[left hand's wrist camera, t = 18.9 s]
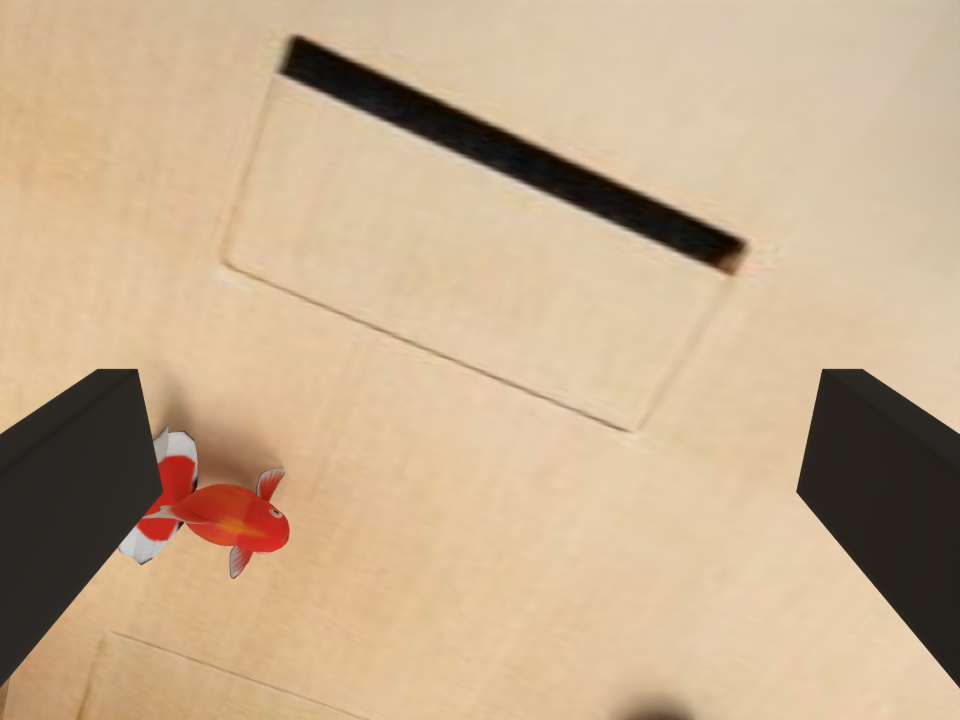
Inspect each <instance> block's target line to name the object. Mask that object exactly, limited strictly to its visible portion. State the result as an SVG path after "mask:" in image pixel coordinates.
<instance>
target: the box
mask: <svg viewBox="0 0 960 720" xmlns="http://www.w3.org/2000/svg"><path fill="white" fill-rule="evenodd" d="M8 683H9V678H8V679H7V681H6V682H5V683H4V684H3V685H2V687H1V688H0V720H2V717H3V712H4V706H5V700H6V694H7V689H8Z"/></svg>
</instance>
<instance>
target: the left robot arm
mask: <svg viewBox="0 0 960 720" xmlns="http://www.w3.org/2000/svg"><path fill="white" fill-rule="evenodd" d="M163 492H164V491H163V486H162V481H161V477H160V472H159V467H158V463H157V458H156V453H155V449H154V444H153V439H152V434H151V430H150V425H149V420H148V416H147V411H146V406H145V402H144V397H143V392H142V387H141V383H140V378H139V373H138V369H97V370H95V371H94V372H92V373H91V374H89V375H88V376H86V377H85V378H83V379H82V380H80V381H79V382H77V383H76V384H74V385H73V386H71V387H70V388H68V389H67V390H65V391H64V392H62V393H61V394H59V395H58V396H57V397H55V398H54V399H52V400H51V401H49V402H48V403H46V404H45V405H43V406H42V407H40V408H39V409H37V410H36V411H34V412H33V413H31V414H30V415H28V416H27V417H25V418H24V419H22V420H21V421H19V422H18V423H16V424H15V425H13V426H12V427H10V428H9V429H7V430H6V431H4V432H3V433H1V434H0V688H1V687H2V685H3V684H4V683H5V682H6V681H7V679H8V678H9V677H10V676H11V675H12V673H13V672H14V671H15V670H16V669H17V667H18V666H19V665H20V664H21V663H22V661H23V660H24V659H25V658H26V657H27V655H28V654H29V653H30V652H31V651H32V649H33V648H34V647H35V646H36V645H37V643H38V642H39V641H40V640H41V639H42V637H43V636H44V635H45V634H46V633H47V631H48V630H49V629H50V628H51V627H52V625H53V624H54V623H55V622H56V621H57V619H58V618H59V617H60V616H61V615H62V613H63V612H64V611H65V610H66V609H67V607H68V606H69V605H70V604H71V603H72V601H73V600H74V599H75V598H76V597H77V595H78V594H79V593H80V592H81V591H82V589H83V588H84V587H85V586H86V585H87V583H88V582H89V581H90V580H91V579H92V577H93V576H94V575H95V574H96V573H97V571H98V570H99V569H100V568H101V567H102V565H103V564H104V563H105V562H106V561H107V559H108V558H109V557H110V556H111V555H112V553H113V552H114V551H115V550H116V549H117V547H118V546H119V545H120V544H121V543H122V541H123V540H124V539H125V538H126V537H127V535H128V534H129V533H130V532H131V531H132V529H133V528H134V527H135V526H136V525H137V523H138V522H139V521H140V520H141V519H142V518H143V516H144V515H145V514H146V513H147V512H148V510H149V509H150V508H151V507H152V506H153V504H154V503H155V502H156V501H157V500H158V498H159V497H160V496H161V495H162V494H163ZM796 492H797V494H798V495H799V496H800V497H801V498H802V500H803V501H804V502H805V503H806V504H807V506H808V507H809V508H810V509H811V510H812V512H813V513H814V514H815V515H816V516H817V518H818V519H819V520H820V521H821V522H822V523H823V525H824V526H825V527H826V528H827V529H828V531H829V532H830V533H831V534H832V535H833V537H834V538H835V539H836V540H837V541H838V543H839V544H840V545H841V546H842V547H843V549H844V550H845V551H846V552H847V553H848V555H849V556H850V557H851V558H852V559H853V561H854V562H855V563H856V564H857V565H858V567H859V568H860V569H861V570H862V571H863V573H864V574H865V575H866V576H867V577H868V579H869V580H870V581H871V582H872V583H873V585H874V586H875V587H876V588H877V589H878V591H879V592H880V593H881V594H882V595H883V597H884V598H885V599H886V600H887V601H888V603H889V604H890V605H891V606H892V607H893V609H894V610H895V611H896V612H897V613H898V615H899V616H900V617H901V618H902V619H903V621H904V622H905V623H906V624H907V625H908V627H909V628H910V629H911V630H912V631H913V633H914V634H915V635H916V636H917V637H918V639H919V640H920V641H921V642H922V643H923V645H924V646H925V647H926V648H927V649H928V651H929V652H930V653H931V654H932V655H933V657H934V658H935V659H936V660H937V661H938V663H939V664H940V665H941V666H942V667H943V669H944V670H945V671H946V672H947V673H948V675H949V676H950V677H951V678H952V679H953V681H954V682H955V683H956V684H957V685H958V687H959V688H960V434H959V433H957V432H956V431H954V430H953V429H951V428H950V427H948V426H947V425H945V424H944V423H942V422H941V421H939V420H938V419H936V418H935V417H933V416H932V415H930V414H929V413H927V412H926V411H924V410H923V409H921V408H920V407H918V406H917V405H915V404H914V403H912V402H911V401H909V400H908V399H906V398H905V397H903V396H902V395H901V394H899V393H898V392H896V391H895V390H893V389H892V388H890V387H889V386H887V385H886V384H884V383H883V382H881V381H880V380H878V379H877V378H875V377H874V376H872V375H871V374H869V373H868V372H866V371H865V370H863V369H822V373H821V378H820V383H819V387H818V392H817V397H816V402H815V406H814V411H813V416H812V420H811V425H810V430H809V434H808V439H807V444H806V449H805V453H804V458H803V463H802V467H801V472H800V477H799V481H798V486H797V491H796Z"/></svg>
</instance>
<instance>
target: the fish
mask: <svg viewBox="0 0 960 720" xmlns="http://www.w3.org/2000/svg"><path fill="white" fill-rule="evenodd" d="M153 444H154V449H155V453H156V458H157V463H158V467H159V472H160V477H161V481H162V486H163V491H164V492H163V494H162V495H161V496H160V497H159V498H158V500H157V501H156V502H155V503H154V504H153V506H152V507H151V508H150V509H149V510H148V512H147V513H146V514H145V515H144V516H143V518H142V519H141V520H140V521H139V522H138V523H137V525H136V526H135V527H134V528H133V529H132V531H131V532H130V533H129V534H128V535H127V537H126V538H125V539H124V540H123V541H122V543H121V544H120V545H119V546H118V547H117V548H118V549H119V551H120V552H121V553H123V554H125V555H128V556H130V557H132V558H134V559H135V560H136V561H137V562H138V563H139V564H141V565H142V564H144V563H146V562H147V561H149V560H151V559H152V558H153V557H155V556H156V555H157V554H158V553H159V552H160V551H161V550H162V549H163V548H164V547H165V545H166V544H167V543H168V542H169V541H170V540H171V538H172V537H173V536H174V535H175V534H176V532H177V531H178V530H179V529H180V527H181V526H182V525H183V524H184V522H186V524H187V526H188V527H189V528H190V529H191V530H192V531H193V532H194V533H196V534H197V535H198V536H200V537H201V538H203V539H205V540H207V541H209V542H212V543H214V544H218V545H222V546H235V547H234V548H233V549H232V550H231V553H230V576H231V578H233V579H234V578H236V577H237V576H238V575H239V574H240V573H241V572H242V571H243V569H244V567H245V566H246V564H247V563H248V562H249V561H250V559H251V556H252V554H253V552H254V551H255V552H256V553H258V554H267V553H270V552H273V551H275V550H277V549H280V548H282V547H283V546H284V545H285V544H286V543H287V541H288V539H289V532H290V530H289V524H288V521H287V518H286V517H285V516H284V515H283V514H282V513H281V512H280V511H279V510H277V509H276V508H275V507H274V506H273V505H272V504H270V503H269V501H270V499H271V497H272V495H273V493H274V491H275V489H276V488H277V486H278V484H279V482H280V480H281V479H282V477H283V476H284V474H285V472H284V469H283V468H274V469H271V470H268V471H265V472H263V473H262V474H261V475H260V477H259V480H258V484H257V489H256V494H255V493H254V492H252V491H250V490H248V489H246V488H243V487H240V486H236V485H229V484H217V485H212V486H208V487H205V488H202V489H200V490H196V488H197V453H196V447H195V442H194V439H193V438H192V437H191V436H189V435H188V434H187V433H186V432H185V431H179V432H172V433H169V429H168V425H167V426H166V427H165V428H164V429H163V430H162V431H161V432H160V434H159V435H158V436H157V437H156V438H155V439H154V440H153Z"/></svg>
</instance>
